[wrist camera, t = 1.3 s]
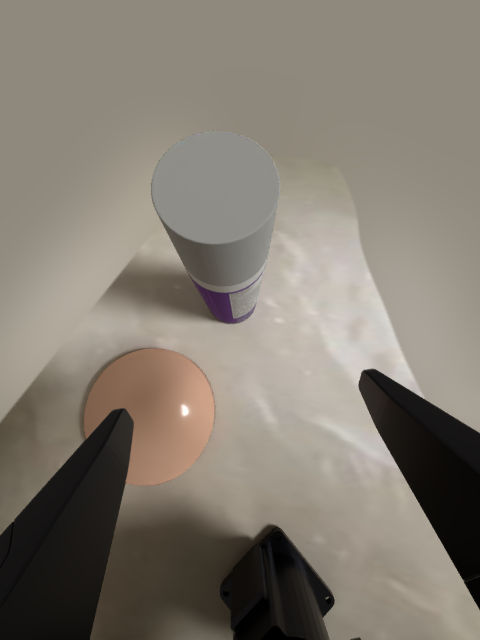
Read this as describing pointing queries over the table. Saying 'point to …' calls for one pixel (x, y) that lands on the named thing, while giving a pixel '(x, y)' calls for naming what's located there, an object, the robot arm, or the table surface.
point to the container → (219, 216)
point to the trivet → (156, 411)
